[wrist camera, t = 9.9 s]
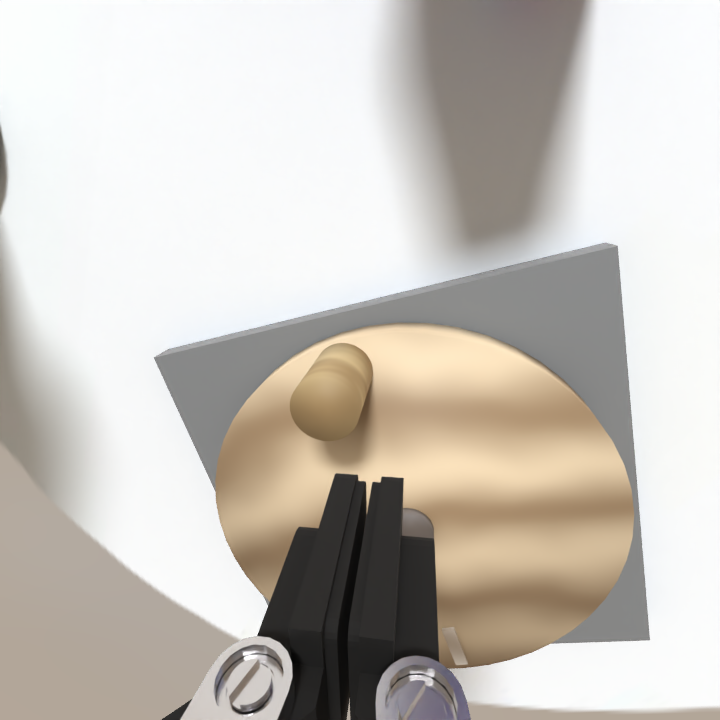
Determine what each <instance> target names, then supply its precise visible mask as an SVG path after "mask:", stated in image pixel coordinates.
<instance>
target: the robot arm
mask: <svg viewBox="0 0 720 720" xmlns="http://www.w3.org/2000/svg"><path fill="white" fill-rule="evenodd" d="M403 487H404V478H397V477H383V476H382V477H381V482H372V487H371V493H370V499H369V505H368V511H367V500H366V481H359V480H358V475H355V474H340V473H336V474H335V476H334V479H333V482H332V485H331V488H330V492H329V495H328V498H327V502H326V505H325V508H324V512H323V515H322V518H321V521H320V525H319V528H310V527H298V529H297V530H296V532H295V535H294V537H293V540H292V543H291V545H290V548H289V551H288V554H287V556H286V559H285V562H284V565H283V567H282V570H281V573H280V575H279V578H278V581H277V584H276V586H275V589H274V592H273V595H272V597H271V600H270V603H269V605H268V608H267V611H266V614H265V616H264V619H263V622H262V624H261V627H260V630H259V633H258V635H257V636H256V637H250V638H245V639H243V640H241V641H239V642H237V643H235V644H233V645H231V646H230V647H229V648H228V649H226V650H225V651H224V652H223V653H222V654H221V655H220V656H219V657H218V659H217V660H216V662H215V663H214V664H213V665H212V667H211V668H210V670H209V672H208V673H207V675H206V677H205V678H204V680H203V682H202V684H201V685H200V687H199V689H198V690H197V692H196V694H195V696H194V698H193V699H191V700H190V701H188V702H187V703H185V704H184V705H183V706H181V707H180V708H178V709H177V710H175V711H174V712H172V713H171V714H169V715H168V716H166V717H165V718H163V719H162V720H346V719H347V712H348V704H349V698H350V716H351V720H471V718H470V714H469V710H468V705H467V701H466V698H465V695H464V692H463V690H462V687H461V685H460V683H459V682H458V681H457V679H456V678H455V676H454V675H453V673H452V672H451V671H449V670H448V669H447V668H446V667H445V666H444V665H442V664H441V663H439V643H438V617H437V591H436V565H435V542H434V538H424V537H412V536H402V524H403Z"/></svg>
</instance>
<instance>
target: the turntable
mask: <svg viewBox="0 0 720 720" xmlns="http://www.w3.org/2000/svg"><path fill="white" fill-rule="evenodd" d="M336 473H340V474H355V475H358V480H359V481H366V500H367V511H368V505H369V499H370V493H371V487H372V482H381V477H382V476H383V477H397V478H404V487H403V524H402V536H412V537H424V538H434V542H435V565H436V591H437V617H438V643H439V663H441V664H442V665H444V666H445V667H446V668H467V667H475V666H483V665H489V664H494V663H498V662H502V661H507V660H511V659H514V658H517V657H520V656H523V655H526V654H529V653H531V652H534V651H536V650H538V649H540V648H542V647H544V646H547V645H549V644H551V643H553V642H554V641H556V640H558V639H559V638H561V637H563V636H564V635H566V634H567V633H569V632H571V631H572V630H573V629H575V628H576V627H577V626H578V625H579V624H581V623H582V622H583V621H584V620H586V619H587V618H588V617H589V616H590V615H591V614H592V613H593V612H594V611H595V610H596V609H597V608H598V606H599V605H600V604H601V603H602V602H603V601H604V600H605V599H606V597H607V596H608V594H609V593H610V591H611V590H612V588H613V587H614V585H615V584H616V582H617V581H618V578H619V576H620V574H621V572H622V570H623V567H624V565H625V563H626V561H627V557H628V553H629V550H630V546H631V542H632V538H633V525H634V507H633V498H632V489H631V486H630V482H629V479H628V476H627V472H626V469H625V465H624V463H623V461H622V459H621V457H620V455H619V453H618V451H617V449H616V447H615V445H614V443H613V441H612V439H611V438H610V437H609V435H608V434H607V432H606V431H605V429H604V428H603V427H602V425H601V424H600V422H599V421H598V420H597V418H596V417H595V415H594V414H593V413H592V411H591V410H590V409H589V407H588V406H587V405H586V403H585V402H584V400H583V399H582V398H581V397H580V396H579V395H578V394H577V393H576V392H575V391H574V390H573V389H572V388H571V387H570V386H569V385H568V384H567V383H566V382H565V380H564V379H562V378H561V377H560V376H559V375H557V374H556V373H555V372H553V371H552V370H551V369H549V368H548V367H547V366H546V365H544V364H543V363H542V362H540V361H539V360H537V359H535V358H533V357H532V356H530V355H528V354H527V353H525V352H523V351H521V350H520V349H518V348H516V347H514V346H512V345H509V344H507V343H505V342H502V341H500V340H497V339H495V338H493V337H490V336H488V335H484V334H481V333H477V332H473V331H470V330H466V329H462V328H459V327H453V326H446V325H439V324H431V323H398V322H397V323H389V324H380V325H371V326H366V327H361V328H357V329H353V330H349V331H345V332H341V333H339V334H336V335H334V336H331V337H329V338H326V339H324V340H321V341H318V342H316V343H314V344H313V345H311V346H309V347H307V348H305V349H304V350H302V351H300V352H298V353H297V354H295V355H293V356H292V357H291V358H290V359H288V360H287V361H286V362H284V363H283V364H282V365H281V366H279V367H278V368H277V369H275V370H274V371H273V373H272V374H271V375H270V376H269V377H268V378H267V379H266V380H265V381H264V382H263V383H262V384H261V385H260V386H259V387H258V388H257V389H256V391H255V392H254V393H253V394H252V395H251V396H250V397H249V398H248V399H247V400H246V402H245V403H244V405H243V406H242V408H241V409H240V410H239V412H238V413H237V415H236V416H235V418H234V419H233V421H232V423H231V425H230V427H229V429H228V432H227V434H226V436H225V438H224V440H223V444H222V447H221V451H220V454H219V458H218V462H217V471H216V479H215V485H216V503H217V508H218V514H219V519H220V523H221V526H222V529H223V532H224V535H225V538H226V541H227V543H228V545H229V547H230V549H231V551H232V553H233V555H234V557H235V559H236V560H237V562H238V563H239V565H240V567H241V568H242V570H243V571H244V573H245V574H246V576H247V577H248V578H249V579H250V581H251V582H252V583H253V584H254V586H255V587H256V588H257V589H258V590H259V592H260V593H261V594H262V595H263V596H264V597H265V598H266V599H267V600H268V601H270V600H271V597H272V595H273V592H274V589H275V586H276V584H277V581H278V578H279V575H280V573H281V570H282V567H283V565H284V562H285V559H286V556H287V554H288V551H289V548H290V545H291V543H292V540H293V537H294V535H295V532H296V530H297V529H298V527H310V528H319V525H320V521H321V518H322V515H323V512H324V508H325V505H326V502H327V498H328V495H329V492H330V488H331V485H332V482H333V479H334V476H335V474H336Z"/></svg>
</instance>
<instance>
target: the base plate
mask: <svg viewBox="0 0 720 720" xmlns="http://www.w3.org/2000/svg"><path fill="white" fill-rule="evenodd" d="M397 322H398V323H431V324H439V325H446V326H453V327H459V328H462V329H466V330H470V331H473V332H477V333H481V334H484V335H488V336H490V337H493V338H495V339H497V340H500V341H502V342H505V343H507V344H509V345H512V346H514V347H516V348H518V349H520V350H521V351H523V352H525V353H527V354H528V355H530V356H532V357H533V358H535V359H537V360H539V361H540V362H542V363H543V364H544V365H546V366H547V367H548V368H549V369H551V370H552V371H553V372H555V373H556V374H557V375H559V376H560V377H561V378H562V379H564V380H565V382H566V383H567V384H568V385H569V386H570V387H571V388H572V389H573V390H574V391H575V392H576V393H577V394H578V395H579V396H580V397H581V398H582V399H583V400H584V402H585V403H586V405H587V406H588V407H589V409H590V410H591V411H592V413H593V414H594V415H595V417H596V418H597V420H598V421H599V422H600V424H601V425H602V427H603V428H604V429H605V431H606V432H607V434H608V435H609V437H610V438H611V439H612V441H613V443H614V445H615V447H616V449H617V451H618V453H619V455H620V457H621V459H622V461H623V463H624V465H625V469H626V472H627V476H628V479H629V482H630V486H631V489H632V498H633V507H634V525H633V538H632V542H631V546H630V550H629V553H628V557H627V561H626V563H625V565H624V567H623V570H622V572H621V574H620V576H619V578H618V581H617V582H616V584H615V585H614V587H613V588H612V590H611V591H610V593H609V594H608V596H607V597H606V599H605V600H604V601H603V602H602V603H601V604H600V605H599V606H598V608H597V609H596V610H595V611H594V612H593V613H592V614H591V615H590V616H589V617H588V618H587V619H586V620H584V621H583V622H582V623H581V624H579V625H578V626H577V627H576V628H575V629H573V630H572V631H571V632H569V633H567V634H566V635H564V636H563V637H561V638H559V639H558V640H556V641H554V642H553V643H582V642H611V641H640V640H650V637H649V625H648V613H647V600H646V588H645V576H644V564H643V551H642V539H641V527H640V515H639V502H638V490H637V478H636V466H635V454H634V441H633V429H632V417H631V405H630V392H629V380H628V368H627V356H626V343H625V331H624V319H623V307H622V294H621V282H620V270H619V258H618V246H616V245H612V244H608V243H602V244H598V245H594V246H590V247H586V248H582V249H578V250H574V251H569V252H565V253H561V254H557V255H553V256H549V257H545V258H541V259H537V260H533V261H528V262H524V263H520V264H516V265H512V266H508V267H504V268H500V269H496V270H492V271H487V272H483V273H479V274H475V275H471V276H467V277H463V278H459V279H455V280H451V281H446V282H442V283H438V284H434V285H430V286H426V287H422V288H418V289H414V290H410V291H405V292H401V293H397V294H393V295H389V296H385V297H381V298H377V299H373V300H369V301H364V302H360V303H356V304H352V305H348V306H344V307H340V308H336V309H332V310H328V311H323V312H319V313H315V314H311V315H307V316H303V317H299V318H295V319H291V320H287V321H282V322H278V323H274V324H270V325H266V326H262V327H258V328H254V329H250V330H246V331H241V332H237V333H233V334H229V335H225V336H221V337H217V338H213V339H209V340H205V341H200V342H196V343H192V344H188V345H184V346H180V347H176V348H172V349H168V350H166V351H164V352H163V353H161V354H159V355H158V356H156V357H154V359H155V361H156V363H157V365H158V368H159V370H160V372H161V374H162V376H163V378H164V381H165V383H166V385H167V387H168V389H169V391H170V394H171V396H172V398H173V400H174V402H175V404H176V407H177V409H178V411H179V413H180V415H181V418H182V420H183V422H184V424H185V426H186V428H187V431H188V433H189V435H190V437H191V439H192V441H193V444H194V446H195V448H196V450H197V452H198V454H199V457H200V459H201V461H202V463H203V465H204V468H205V470H206V472H207V474H208V476H209V478H210V481H211V483H212V485H213V487H214V489H215V491H216V485H215V479H216V471H217V462H218V458H219V454H220V451H221V447H222V444H223V440H224V438H225V436H226V434H227V432H228V429H229V427H230V425H231V423H232V421H233V419H234V418H235V416H236V415H237V413H238V412H239V410H240V409H241V408H242V406H243V405H244V403H245V402H246V400H247V399H248V398H249V397H250V396H251V395H252V394H253V393H254V392H255V391H256V389H257V388H258V387H259V386H260V385H261V384H262V383H263V382H264V381H265V380H266V379H267V378H268V377H269V376H270V375H271V374H272V373H273V371H274V370H275V369H277V368H278V367H279V366H281V365H282V364H283V363H284V362H286V361H287V360H288V359H290V358H291V357H292V356H293V355H295V354H297V353H298V352H300V351H302V350H304V349H305V348H307V347H309V346H311V345H313V344H314V343H316V342H318V341H321V340H324V339H326V338H329V337H331V336H334V335H336V334H339V333H341V332H345V331H349V330H353V329H357V328H361V327H366V326H371V325H380V324H389V323H397ZM264 598H265V597H264ZM265 600H266V602H267V605H269V603H270V601H268V600H267V599H266V598H265ZM553 643H551V644H553Z"/></svg>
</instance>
